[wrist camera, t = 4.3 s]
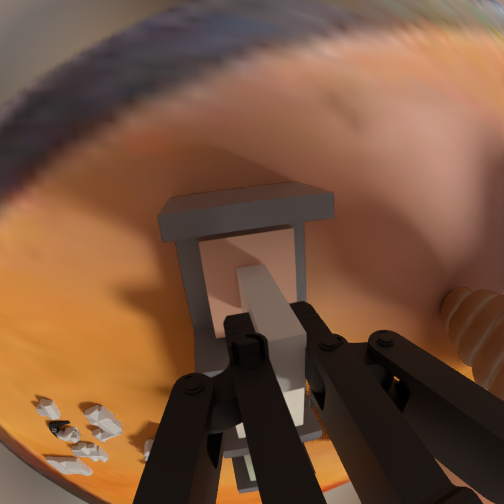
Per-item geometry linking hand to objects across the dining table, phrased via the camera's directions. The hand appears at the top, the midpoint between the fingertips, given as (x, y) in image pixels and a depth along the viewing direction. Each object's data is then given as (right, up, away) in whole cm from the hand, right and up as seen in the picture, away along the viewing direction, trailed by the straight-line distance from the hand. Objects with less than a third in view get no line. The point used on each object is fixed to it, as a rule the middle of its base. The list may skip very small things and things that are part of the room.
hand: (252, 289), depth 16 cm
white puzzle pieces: (-18, -17, +7) cm, 26 cm away
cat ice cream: (+20, -3, +9) cm, 22 cm away
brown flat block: (0, +1, +2) cm, 3 cm away
